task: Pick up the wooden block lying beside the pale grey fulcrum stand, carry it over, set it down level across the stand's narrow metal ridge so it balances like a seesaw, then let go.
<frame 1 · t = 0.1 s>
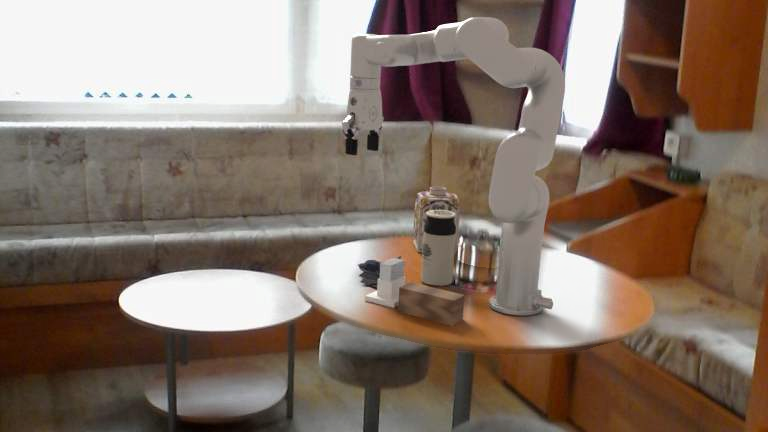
hand: (362, 152, 221), 31 cm above the table, fingers open, 9 cm apart
decorative bat: (375, 276, 226), on the table, touching fulcrum stand
wooden block: (430, 316, 197), on the table
fulcrum stand: (390, 298, 207), on the table
decorative jar: (434, 248, 253), on the table
travel mug: (436, 282, 222), on the table
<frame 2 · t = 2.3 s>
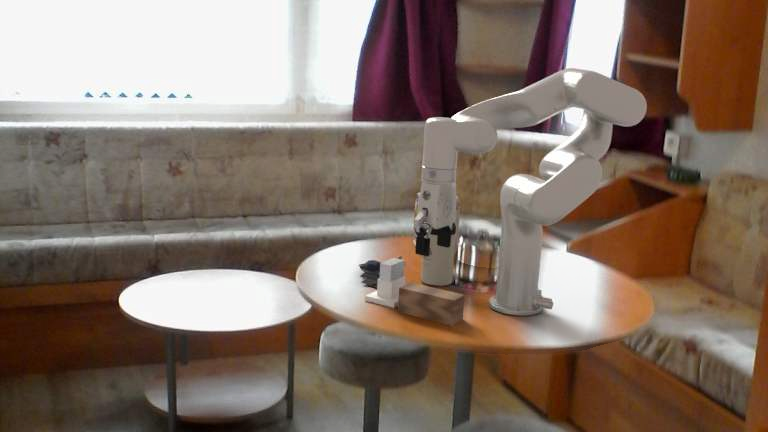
hand: (433, 250, 194), 15 cm above the table, fingers open, 9 cm apart
decorative bat: (376, 276, 225), on the table
everything else where it was.
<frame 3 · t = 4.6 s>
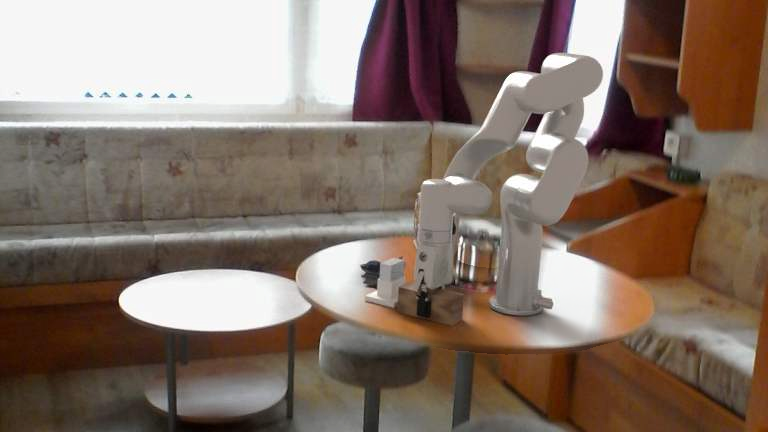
hand: (429, 312, 197), 1 cm above the table, fingers closed on wooden block, 5 cm apart
wooden block: (429, 315, 197), on the table, touching gripper
everything else where it was.
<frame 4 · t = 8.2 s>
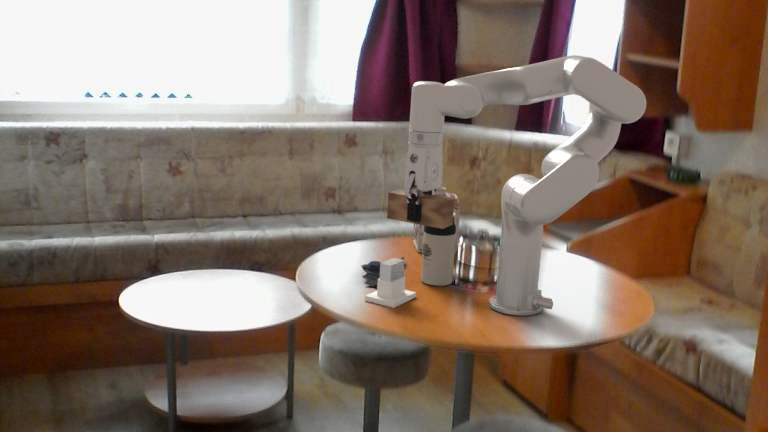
hand: (419, 218, 196), 22 cm above the table, fingers closed on wooden block, 5 cm apart
decorative bat: (379, 277, 225), on the table, touching fulcrum stand
wooden block: (419, 221, 196), point 21 cm above the table, touching gripper
everything else where it was.
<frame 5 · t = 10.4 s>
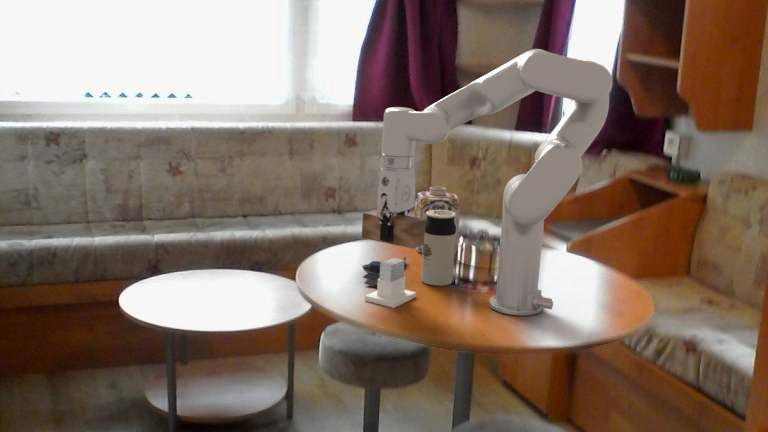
hand: (392, 237, 204), 15 cm above the table, fingers closed on wooden block, 5 cm apart
decorative bat: (380, 277, 225), on the table
wooden block: (392, 241, 204), point 14 cm above the table, touching gripper
everything else where it was.
when the fingers open (11 cm above the table, at t = 12.2 s): wooden block stays where it is, resting on fulcrum stand.
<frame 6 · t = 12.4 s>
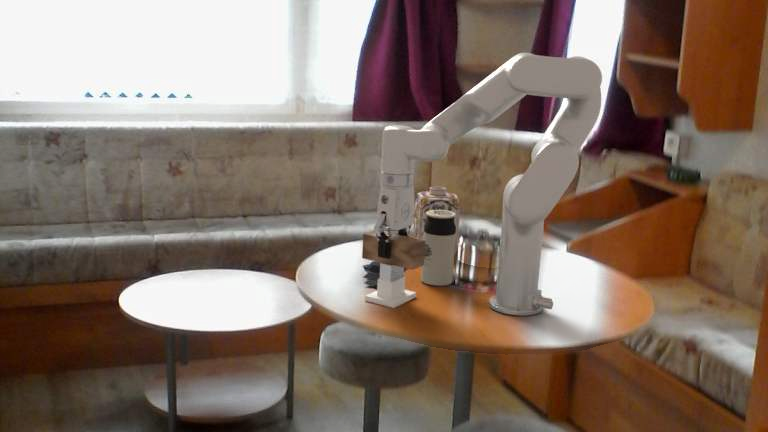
hand: (392, 253, 205), 11 cm above the table, fingers open, 7 cm apart
decorative bat: (380, 277, 225), on the table, touching fulcrum stand
wooden block: (392, 261, 205), point 9 cm above the table, touching fulcrum stand
everything else where it was.
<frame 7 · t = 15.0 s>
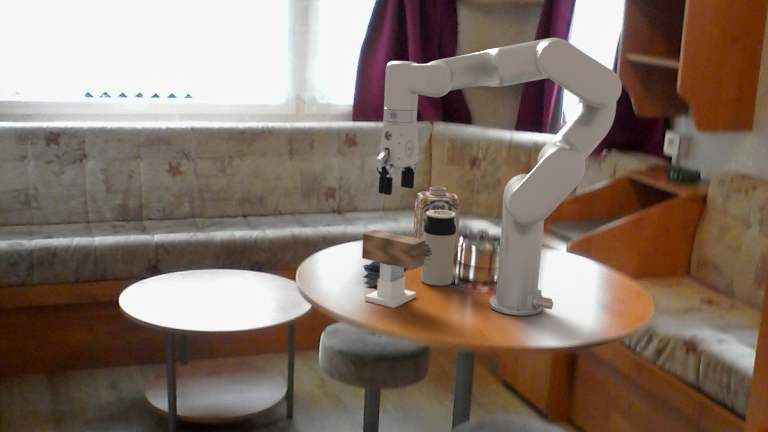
hand: (396, 190, 201), 26 cm above the table, fingers open, 9 cm apart
nothing on the table moved.
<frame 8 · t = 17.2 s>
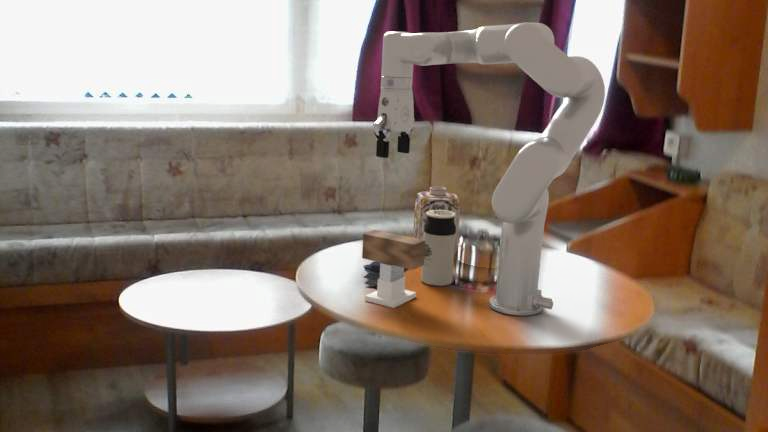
hand: (392, 154, 213), 32 cm above the table, fingers open, 9 cm apart
nothing on the table moved.
at the end: wooden block 0.0 cm off-centre on the fulcrum stand, point 9.2 cm above the fulcrum stand's base; wooden block tilted 0°; the gripper is holding nothing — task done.
